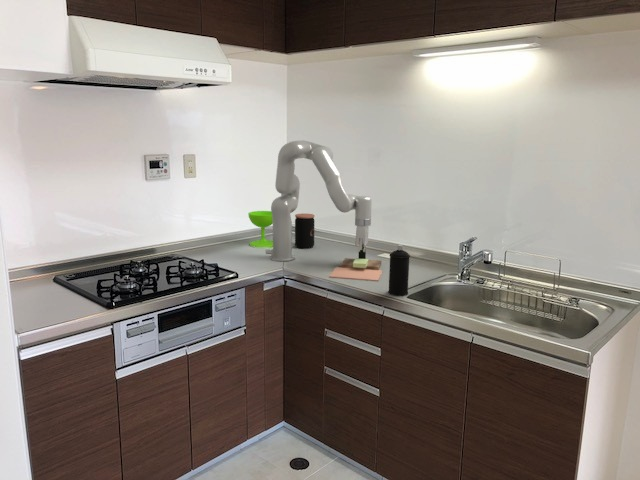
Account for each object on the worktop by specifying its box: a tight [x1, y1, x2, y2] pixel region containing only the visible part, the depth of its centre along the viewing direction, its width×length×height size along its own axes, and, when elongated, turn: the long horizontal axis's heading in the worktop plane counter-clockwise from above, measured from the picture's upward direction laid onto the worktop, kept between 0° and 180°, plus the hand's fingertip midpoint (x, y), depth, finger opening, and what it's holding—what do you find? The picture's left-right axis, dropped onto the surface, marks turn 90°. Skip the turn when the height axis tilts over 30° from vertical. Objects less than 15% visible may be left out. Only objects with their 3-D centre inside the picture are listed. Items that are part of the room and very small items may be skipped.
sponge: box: [353, 257, 369, 268], centre depth 245 cm, size 6×9×2 cm, turn 168°
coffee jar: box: [294, 213, 315, 250], centre depth 288 cm, size 11×11×18 cm
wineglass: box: [248, 210, 273, 248], centre depth 292 cm, size 16×16×18 cm
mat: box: [328, 266, 383, 282], centre depth 238 cm, size 22×16×1 cm
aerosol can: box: [387, 244, 411, 297], centre depth 210 cm, size 8×8×20 cm
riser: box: [340, 257, 382, 270], centre depth 251 cm, size 18×12×2 cm, turn 76°
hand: (361, 259), depth 251 cm, fingers closed
